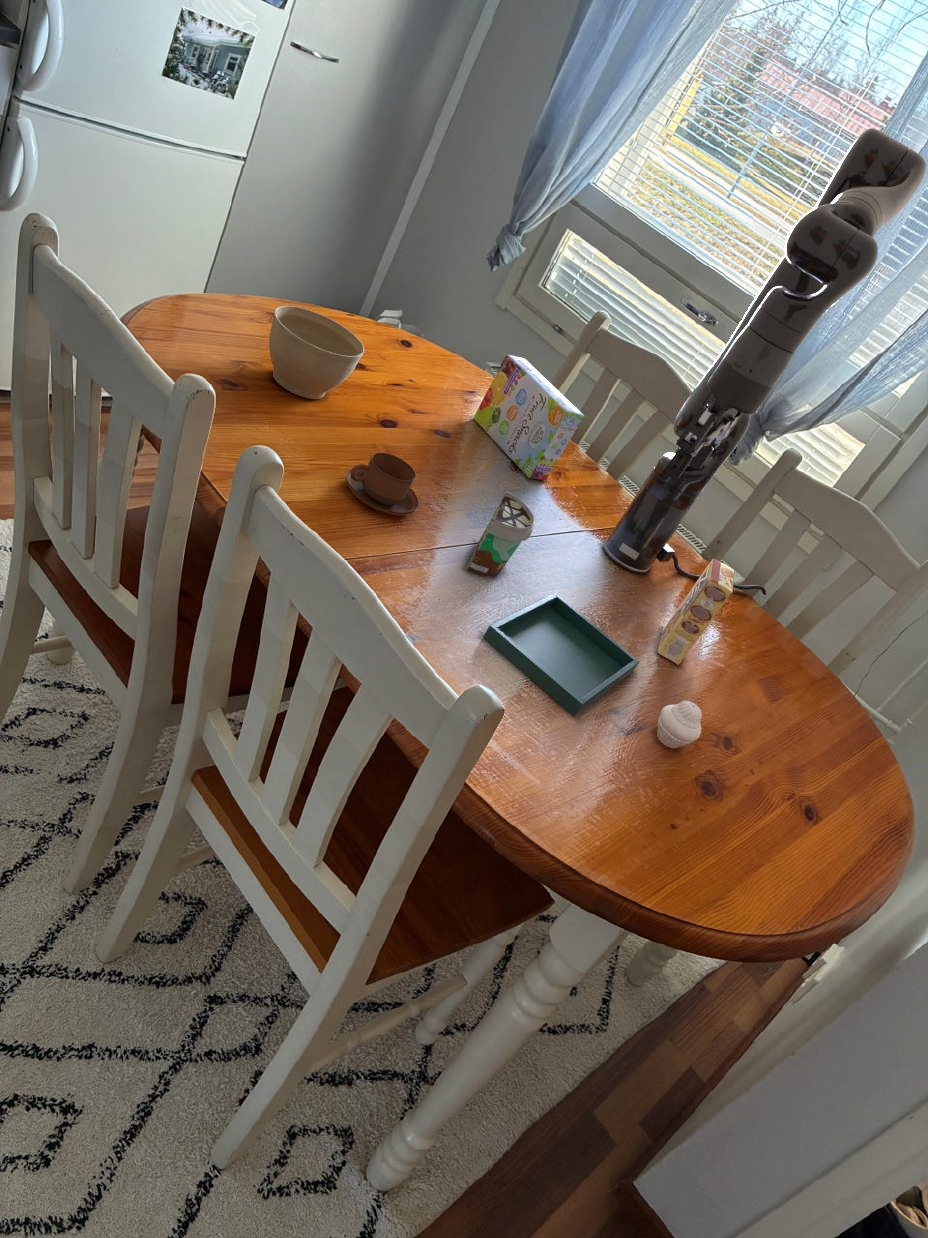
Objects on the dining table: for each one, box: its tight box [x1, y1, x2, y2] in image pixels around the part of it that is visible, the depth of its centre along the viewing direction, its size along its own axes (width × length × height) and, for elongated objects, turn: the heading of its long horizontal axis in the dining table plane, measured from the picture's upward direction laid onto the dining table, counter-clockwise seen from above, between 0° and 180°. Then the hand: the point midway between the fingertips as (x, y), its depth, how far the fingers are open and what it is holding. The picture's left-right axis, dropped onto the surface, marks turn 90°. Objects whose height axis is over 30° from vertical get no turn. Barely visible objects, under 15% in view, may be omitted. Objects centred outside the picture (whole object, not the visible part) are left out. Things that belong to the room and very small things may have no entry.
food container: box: [466, 490, 535, 578], centre depth 144 cm, size 12×6×10 cm, turn 168°
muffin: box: [656, 700, 703, 749], centre depth 129 cm, size 6×6×7 cm
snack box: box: [473, 354, 585, 481], centre depth 183 cm, size 21×6×15 cm, turn 34°
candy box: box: [657, 558, 735, 666], centre depth 148 cm, size 9×4×15 cm, turn 162°
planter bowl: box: [268, 305, 365, 400], centre depth 163 cm, size 16×16×11 cm
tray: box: [482, 592, 641, 717], centre depth 134 cm, size 20×17×2 cm
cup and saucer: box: [346, 452, 420, 517], centre depth 145 cm, size 12×12×6 cm
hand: (682, 470), depth 131 cm, fingers open, 8 cm apart
